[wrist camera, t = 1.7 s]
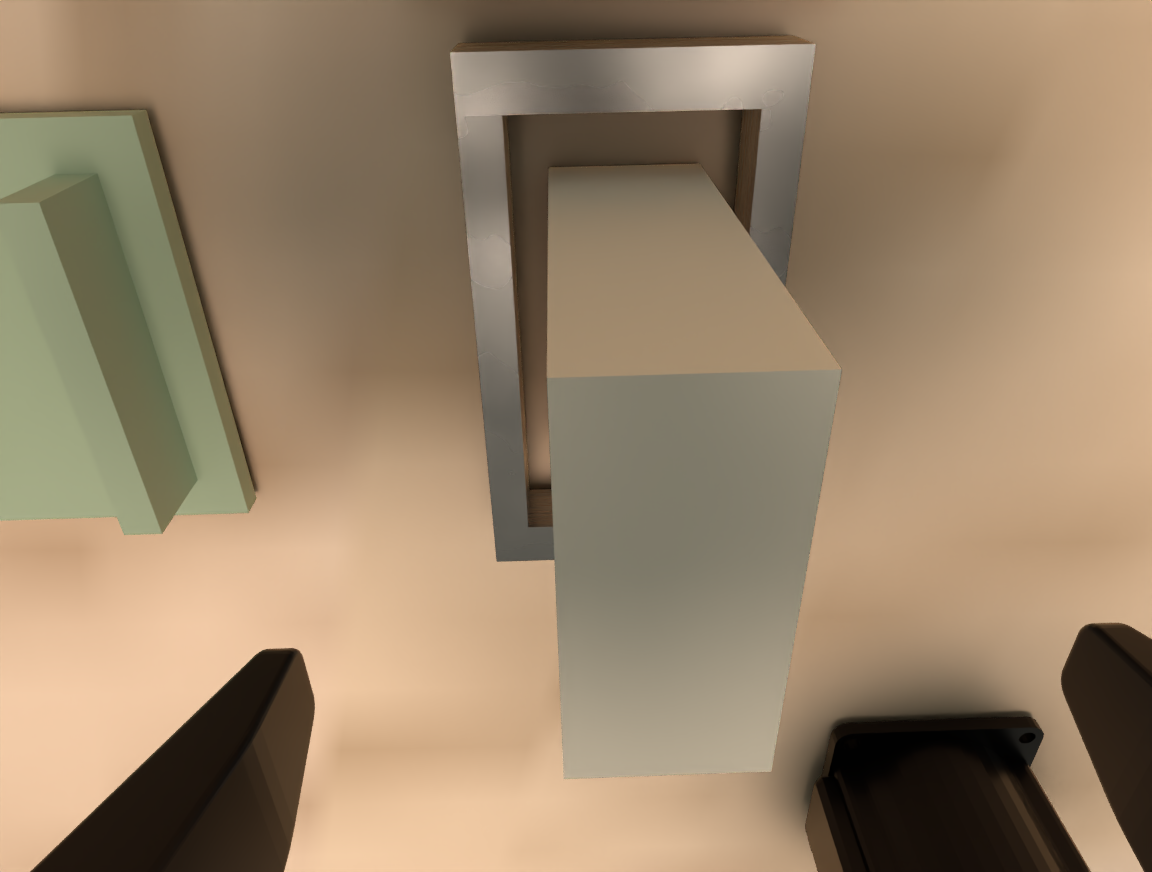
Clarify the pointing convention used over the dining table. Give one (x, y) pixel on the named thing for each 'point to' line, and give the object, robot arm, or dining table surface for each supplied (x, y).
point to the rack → (603, 85)
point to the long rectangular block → (675, 473)
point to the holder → (104, 334)
